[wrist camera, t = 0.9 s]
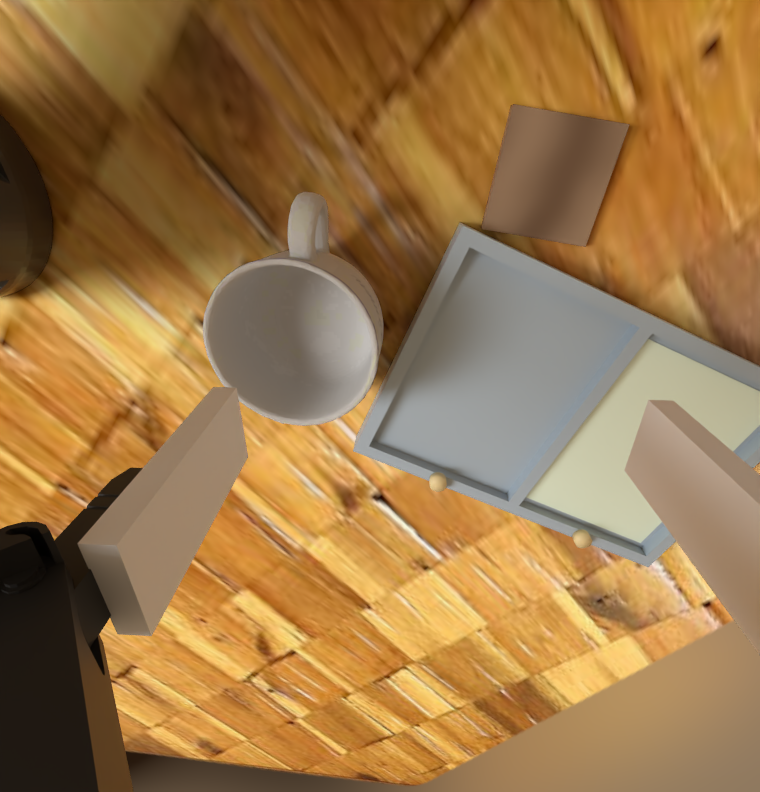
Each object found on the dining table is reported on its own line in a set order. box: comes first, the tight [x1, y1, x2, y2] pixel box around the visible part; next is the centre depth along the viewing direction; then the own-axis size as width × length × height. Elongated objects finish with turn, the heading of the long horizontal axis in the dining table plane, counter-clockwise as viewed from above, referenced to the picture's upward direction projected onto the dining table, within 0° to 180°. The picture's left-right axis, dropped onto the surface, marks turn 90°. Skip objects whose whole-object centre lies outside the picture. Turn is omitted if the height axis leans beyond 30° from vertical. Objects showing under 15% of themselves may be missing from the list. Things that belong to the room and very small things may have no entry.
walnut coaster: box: [481, 104, 629, 247], centre depth 28 cm, size 7×7×1 cm
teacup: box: [203, 192, 384, 426], centre depth 29 cm, size 14×11×8 cm
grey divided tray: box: [353, 222, 760, 567], centre depth 34 cm, size 29×19×3 cm, turn 67°
